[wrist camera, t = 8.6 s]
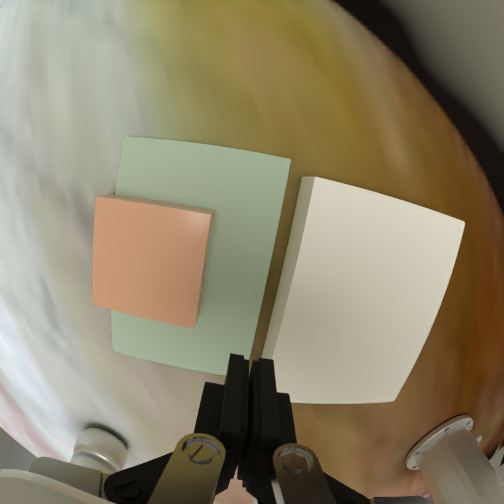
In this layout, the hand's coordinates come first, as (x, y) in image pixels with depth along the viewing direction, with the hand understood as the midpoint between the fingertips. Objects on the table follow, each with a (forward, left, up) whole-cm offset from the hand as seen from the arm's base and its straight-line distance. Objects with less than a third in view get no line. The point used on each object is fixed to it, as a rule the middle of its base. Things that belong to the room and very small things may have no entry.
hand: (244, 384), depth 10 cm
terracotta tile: (+7, -1, -9) cm, 11 cm away
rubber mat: (+5, 0, -11) cm, 12 cm away
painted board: (-8, 0, -11) cm, 14 cm away
